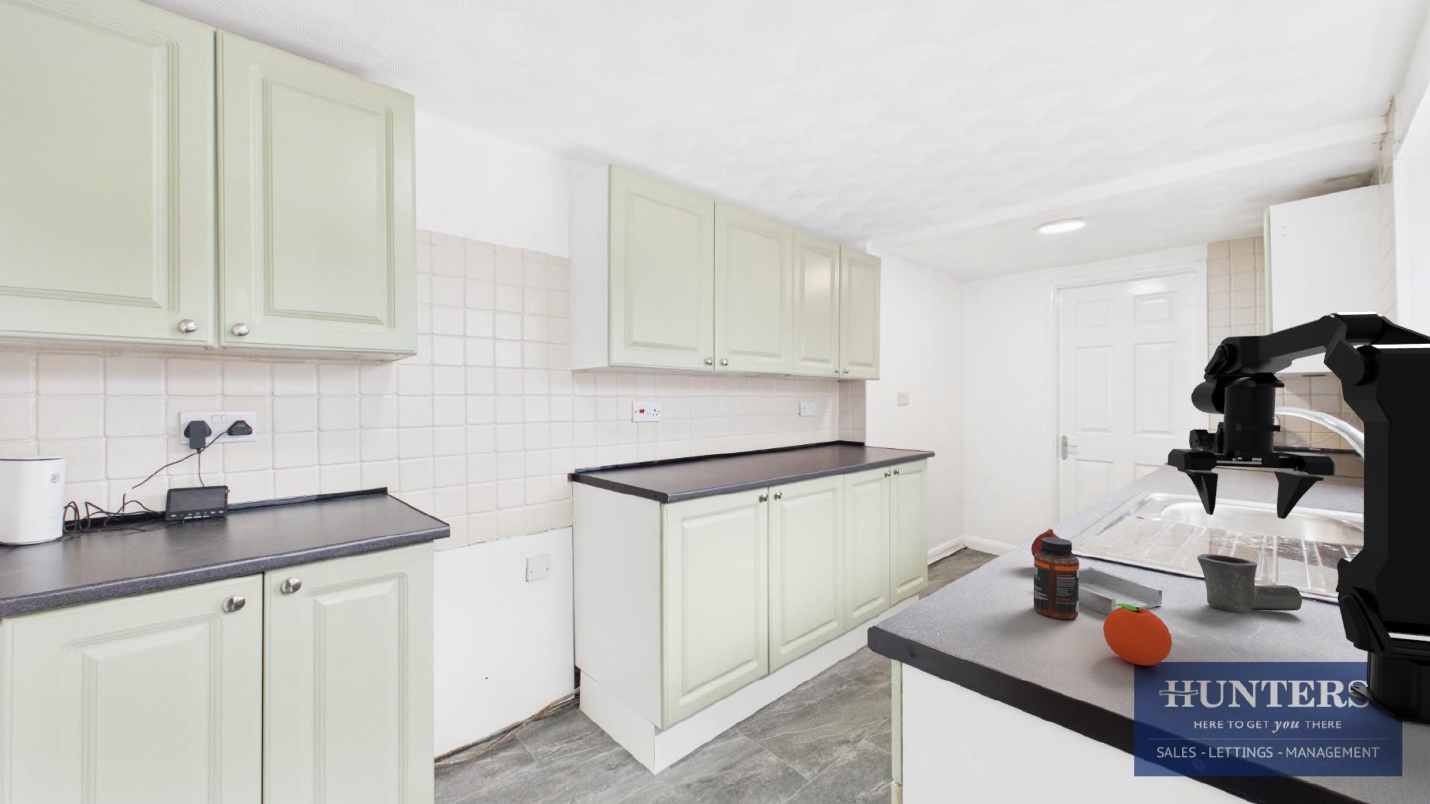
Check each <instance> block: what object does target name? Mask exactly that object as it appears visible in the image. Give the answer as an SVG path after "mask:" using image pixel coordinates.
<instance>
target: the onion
mask: <svg viewBox="0 0 1430 804" xmlns="http://www.w3.org/2000/svg"><path fill="white" fill-rule="evenodd" d="M1045 537H1055V538H1060V537H1059V536H1058V535H1057V534H1056V533H1054V529H1053V528H1048V530H1046V531H1044V532H1042V533H1040V534H1039V535H1037V536H1036V537H1035V539H1034V540H1033V542H1032V544H1031V549H1030V550H1031V554H1032V557H1034V556H1035V553H1036V552H1038V551H1040V550H1041V548H1042V547H1041V544H1042V538H1045Z"/></svg>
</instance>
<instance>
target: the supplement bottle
mask: <svg viewBox="0 0 1430 804" xmlns="http://www.w3.org/2000/svg"><path fill="white" fill-rule="evenodd" d="M1072 542H1073V541H1071V540H1068V539H1066V538H1061V537H1059V538H1055V537H1045V538H1042V544H1041V547H1042V548H1041V550H1040V551H1038V552H1036V553H1035V556H1033V559H1034V561H1033V562H1034V563H1033V609H1034V610H1035V611H1036V612H1038V613H1039V614H1041V615H1043V616H1045V617H1049V618H1052V619H1056V620H1072V619H1075V618H1077V617H1078V616H1079V609H1080V608H1079V606H1080V604H1079V569H1080V561H1079V559H1078V557H1077V556H1075V555H1074V554H1073V552H1072V551H1073V543H1072Z"/></svg>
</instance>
